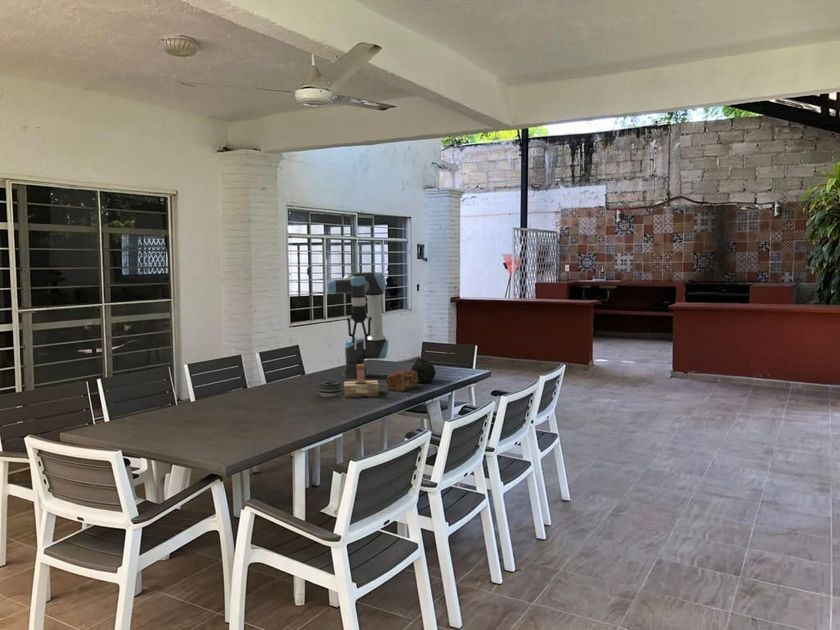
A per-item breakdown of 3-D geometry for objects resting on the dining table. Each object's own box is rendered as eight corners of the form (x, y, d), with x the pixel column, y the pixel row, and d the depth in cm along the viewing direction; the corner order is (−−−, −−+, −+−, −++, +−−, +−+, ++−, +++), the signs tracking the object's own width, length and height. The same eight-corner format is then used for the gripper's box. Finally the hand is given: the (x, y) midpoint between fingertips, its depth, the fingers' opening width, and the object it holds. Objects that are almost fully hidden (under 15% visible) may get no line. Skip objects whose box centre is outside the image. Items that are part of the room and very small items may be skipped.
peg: (357, 389, 356) (356, 364, 355) (364, 389, 356) (364, 364, 355) (357, 391, 352) (356, 365, 351) (365, 391, 352) (364, 365, 351)
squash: (439, 370, 392) (422, 351, 391) (440, 375, 377) (422, 356, 376) (422, 385, 393) (405, 367, 392) (422, 392, 379) (404, 373, 377)
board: (344, 392, 360) (344, 381, 360) (377, 390, 362) (377, 380, 362) (344, 397, 346) (344, 386, 346) (378, 395, 348) (378, 384, 348)
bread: (402, 392, 358) (401, 374, 357) (385, 390, 363) (385, 372, 363) (419, 385, 374) (419, 368, 373) (403, 384, 379) (403, 367, 379)
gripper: (342, 306, 345) (343, 350, 347) (375, 305, 347) (376, 349, 349) (342, 305, 353) (343, 348, 355) (374, 304, 355) (375, 347, 357)
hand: (360, 348), depth 352 cm, fingers open, 4 cm apart
